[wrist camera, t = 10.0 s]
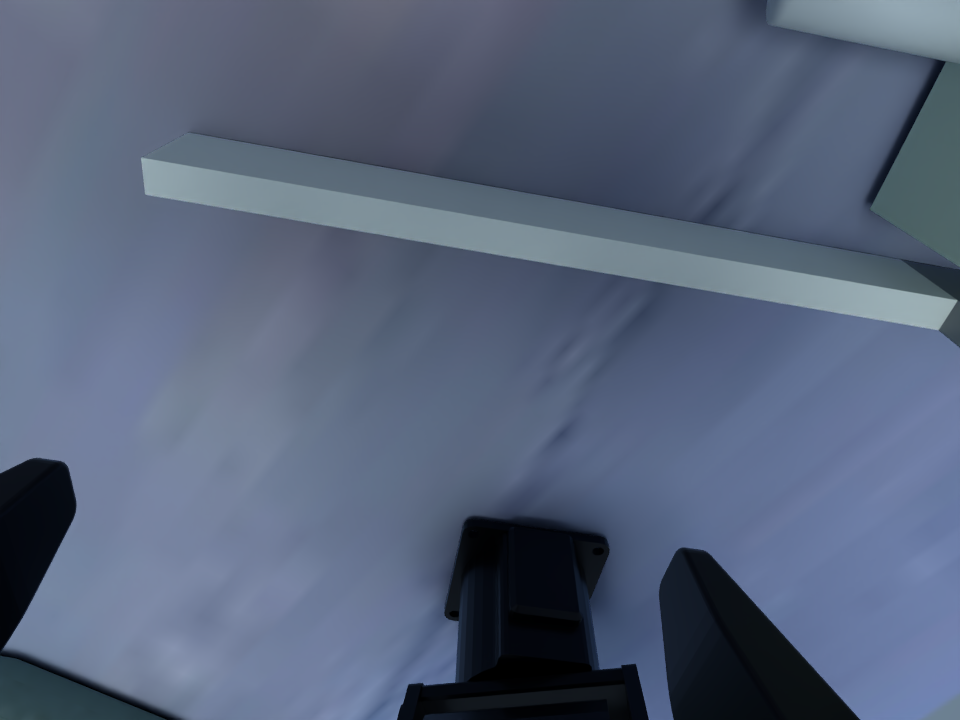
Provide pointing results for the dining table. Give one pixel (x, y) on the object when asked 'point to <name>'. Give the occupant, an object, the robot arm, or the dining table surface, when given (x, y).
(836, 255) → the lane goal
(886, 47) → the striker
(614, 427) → the dining table surface
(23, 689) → the tea set
